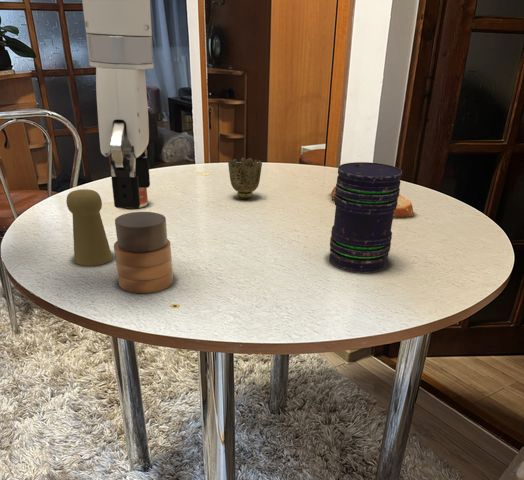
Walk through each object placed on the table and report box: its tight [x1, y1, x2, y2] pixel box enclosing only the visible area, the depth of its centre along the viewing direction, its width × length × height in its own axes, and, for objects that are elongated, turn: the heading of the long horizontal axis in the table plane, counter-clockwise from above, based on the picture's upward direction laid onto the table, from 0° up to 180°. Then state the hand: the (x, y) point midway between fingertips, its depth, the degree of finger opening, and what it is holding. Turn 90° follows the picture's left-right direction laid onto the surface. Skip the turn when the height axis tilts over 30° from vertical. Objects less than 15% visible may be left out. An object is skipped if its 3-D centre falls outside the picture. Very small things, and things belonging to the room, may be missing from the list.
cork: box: [65, 188, 113, 267], centre depth 81 cm, size 6×6×11 cm
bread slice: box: [331, 185, 415, 219], centre depth 113 cm, size 18×18×4 cm
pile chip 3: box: [116, 269, 174, 294], centre depth 76 cm, size 8×8×2 cm
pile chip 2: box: [115, 257, 173, 280], centre depth 75 cm, size 8×8×2 cm
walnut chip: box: [114, 211, 168, 253], centre depth 73 cm, size 7×7×4 cm
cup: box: [227, 157, 263, 201], centre depth 114 cm, size 8×7×8 cm
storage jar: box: [328, 161, 403, 274], centre depth 82 cm, size 10×10×15 cm
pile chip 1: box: [113, 238, 172, 267], centre depth 74 cm, size 8×8×2 cm
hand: (133, 196), depth 70 cm, fingers open, 9 cm apart
